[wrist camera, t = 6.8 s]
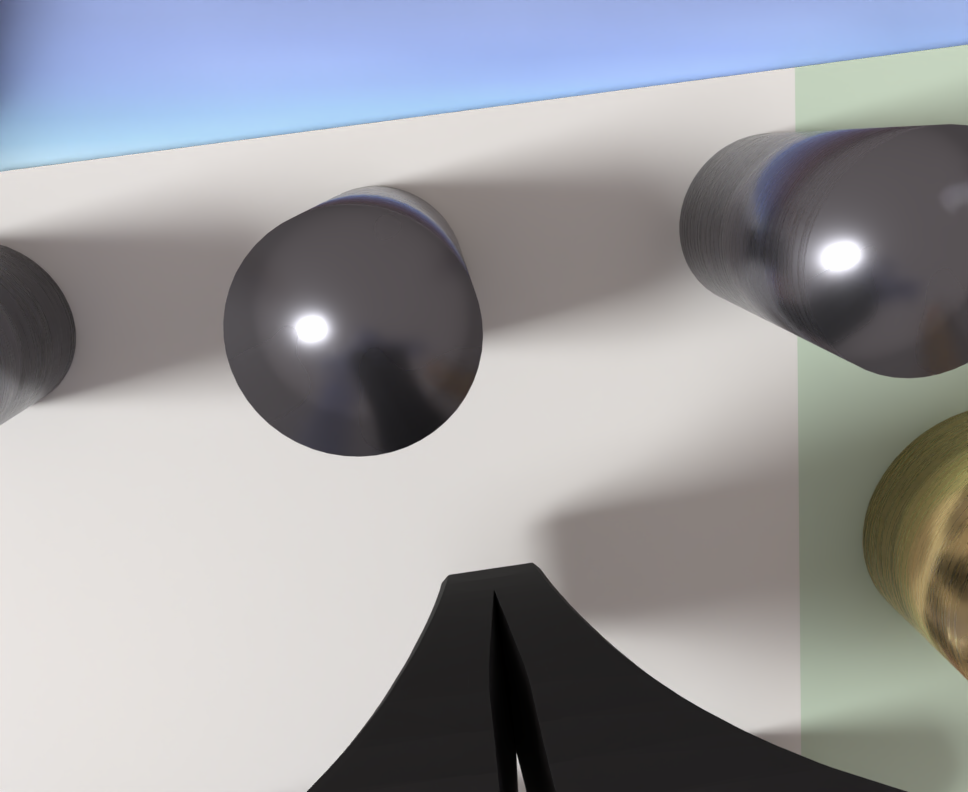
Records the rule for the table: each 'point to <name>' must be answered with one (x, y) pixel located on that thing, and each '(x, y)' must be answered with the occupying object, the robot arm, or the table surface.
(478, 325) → the spacers
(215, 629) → the field mat
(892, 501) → the brass knob
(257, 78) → the table surface
